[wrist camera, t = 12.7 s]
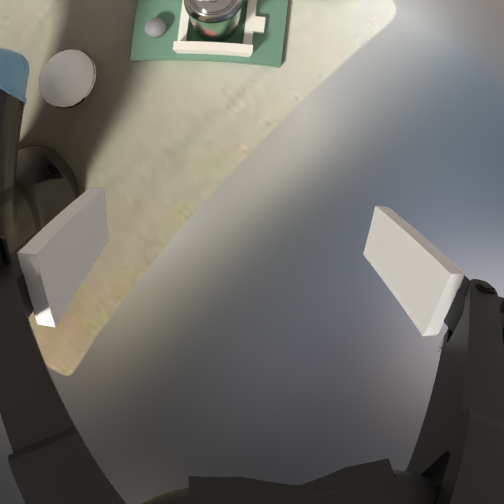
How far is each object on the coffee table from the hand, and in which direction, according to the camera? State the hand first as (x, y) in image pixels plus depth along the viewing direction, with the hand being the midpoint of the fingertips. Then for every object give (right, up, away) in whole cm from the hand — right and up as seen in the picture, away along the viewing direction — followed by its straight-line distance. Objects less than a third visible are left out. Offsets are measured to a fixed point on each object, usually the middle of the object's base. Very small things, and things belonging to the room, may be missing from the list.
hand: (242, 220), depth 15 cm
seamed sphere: (-20, +20, +18) cm, 34 cm away
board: (-4, +29, +14) cm, 33 cm away
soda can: (-4, +25, +16) cm, 30 cm away
